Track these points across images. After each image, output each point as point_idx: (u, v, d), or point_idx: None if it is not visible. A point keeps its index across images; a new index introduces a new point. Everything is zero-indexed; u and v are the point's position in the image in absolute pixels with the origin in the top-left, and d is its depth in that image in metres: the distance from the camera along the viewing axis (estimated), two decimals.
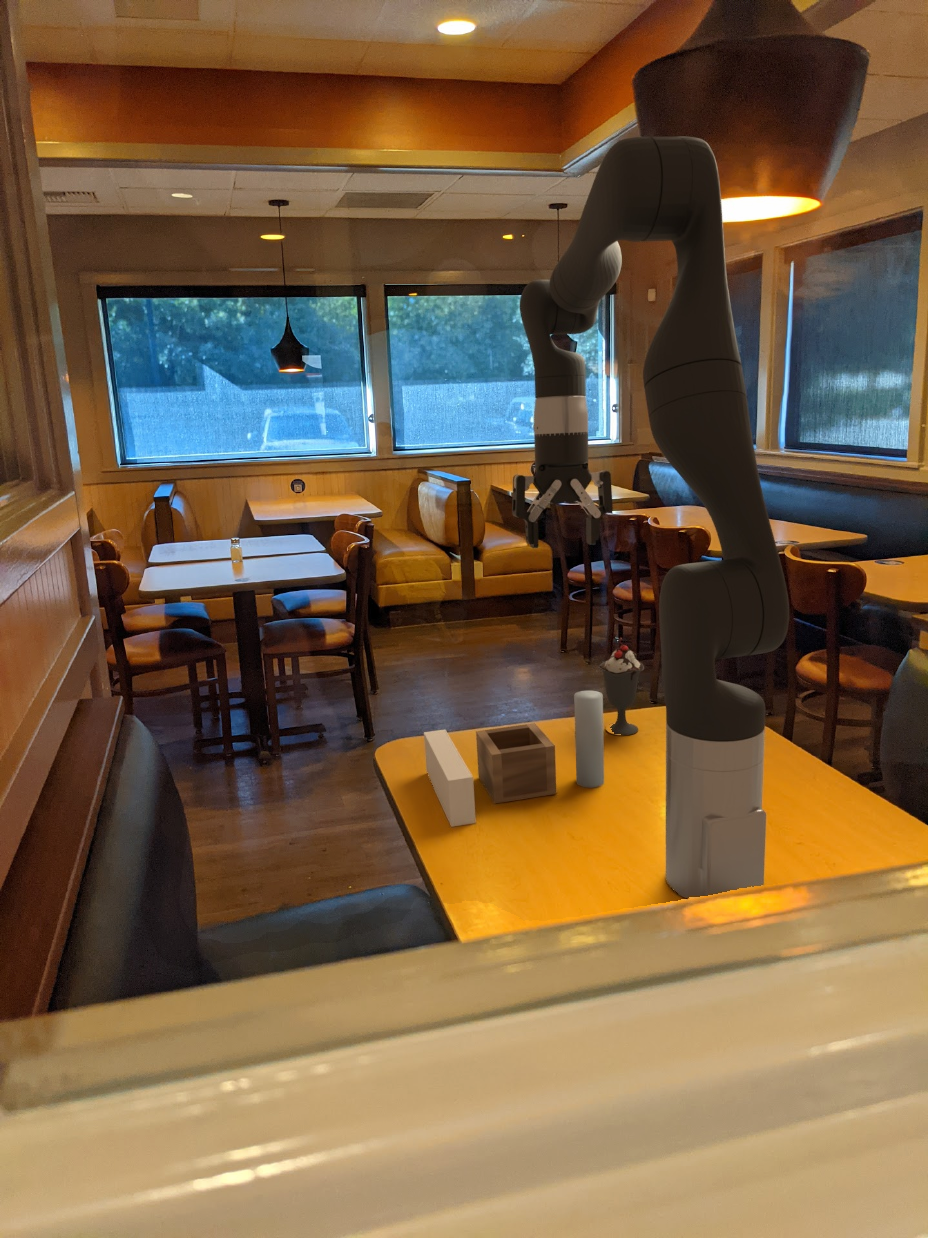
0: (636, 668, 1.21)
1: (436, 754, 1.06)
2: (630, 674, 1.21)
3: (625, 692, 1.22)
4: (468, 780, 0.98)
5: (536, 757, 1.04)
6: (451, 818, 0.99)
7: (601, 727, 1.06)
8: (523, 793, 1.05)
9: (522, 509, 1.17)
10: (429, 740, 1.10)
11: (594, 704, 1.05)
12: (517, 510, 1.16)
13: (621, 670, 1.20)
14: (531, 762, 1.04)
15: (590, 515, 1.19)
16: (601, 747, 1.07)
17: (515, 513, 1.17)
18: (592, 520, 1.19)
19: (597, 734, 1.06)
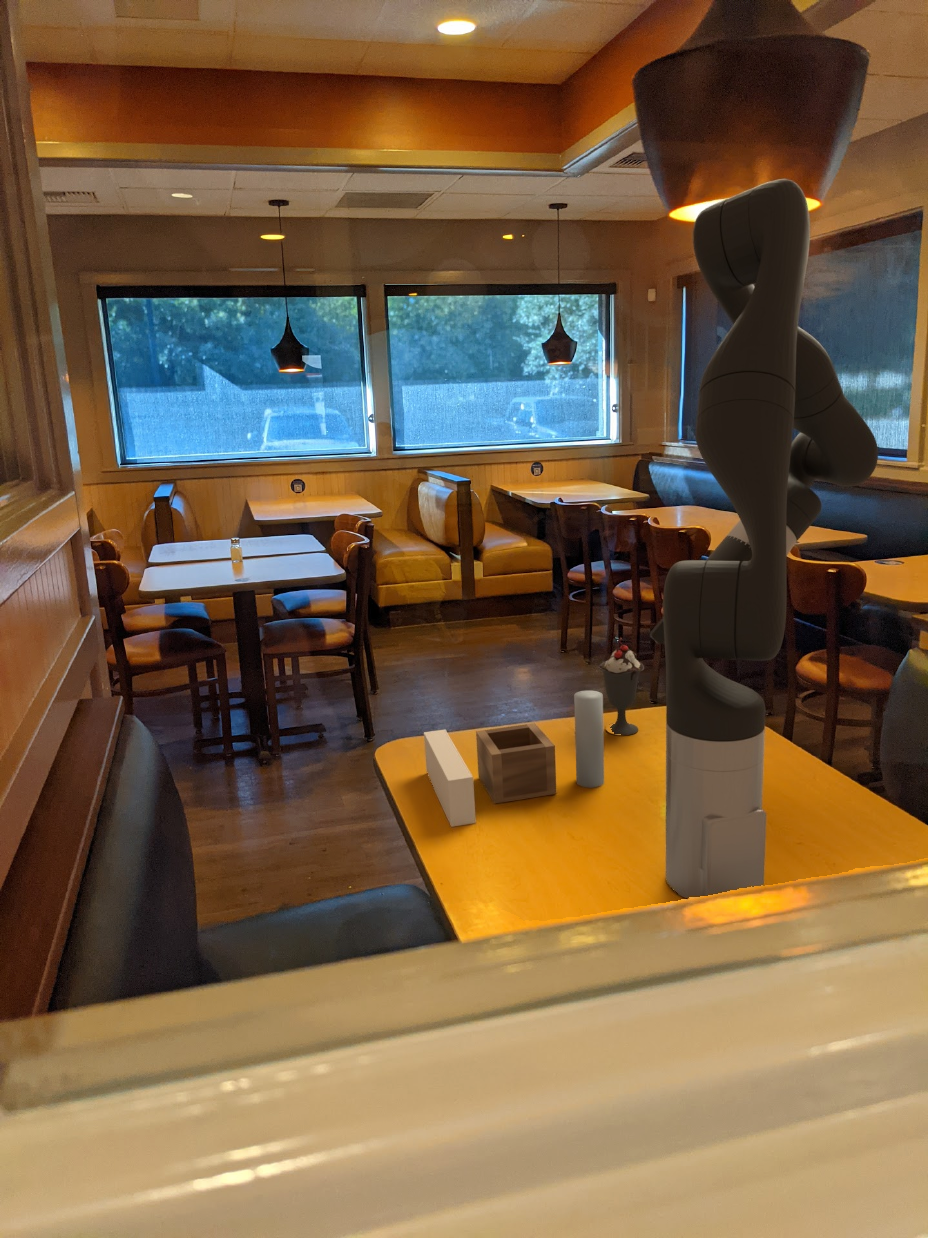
0: (636, 668, 1.21)
1: (436, 754, 1.06)
2: (630, 674, 1.21)
3: (625, 692, 1.22)
4: (468, 780, 0.98)
5: (536, 757, 1.04)
6: (451, 818, 0.99)
7: (601, 727, 1.06)
8: (523, 793, 1.05)
9: None
10: (429, 740, 1.10)
11: (594, 704, 1.05)
12: None
13: (621, 670, 1.20)
14: (531, 762, 1.04)
15: None
16: (601, 747, 1.07)
17: None
18: None
19: (597, 734, 1.06)
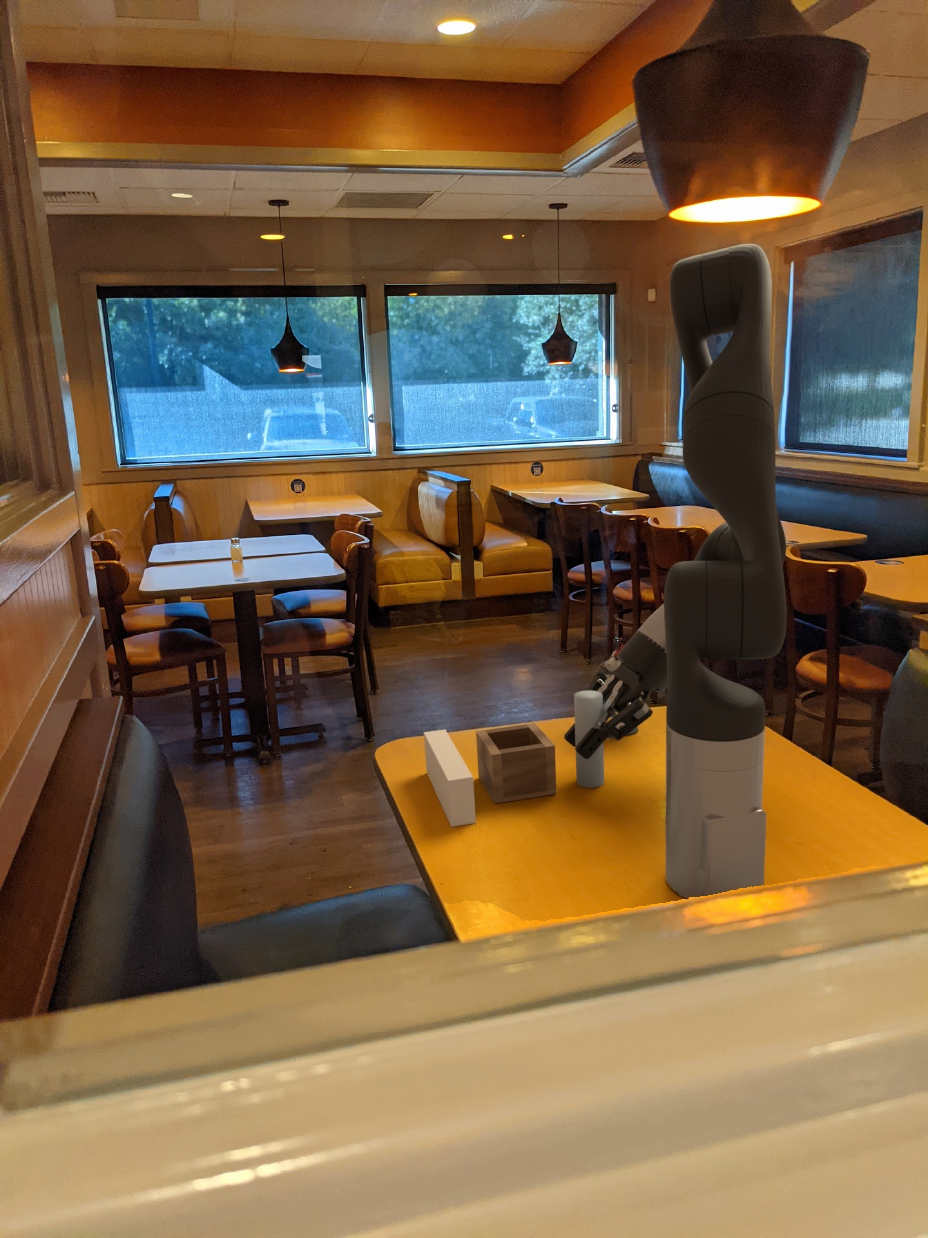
0: None
1: (436, 754, 1.06)
2: None
3: None
4: (468, 780, 0.98)
5: (536, 757, 1.04)
6: (451, 818, 0.99)
7: None
8: (523, 793, 1.05)
9: None
10: (429, 740, 1.10)
11: (594, 704, 1.05)
12: None
13: None
14: (531, 762, 1.04)
15: None
16: (601, 747, 1.07)
17: None
18: (592, 728, 1.05)
19: None
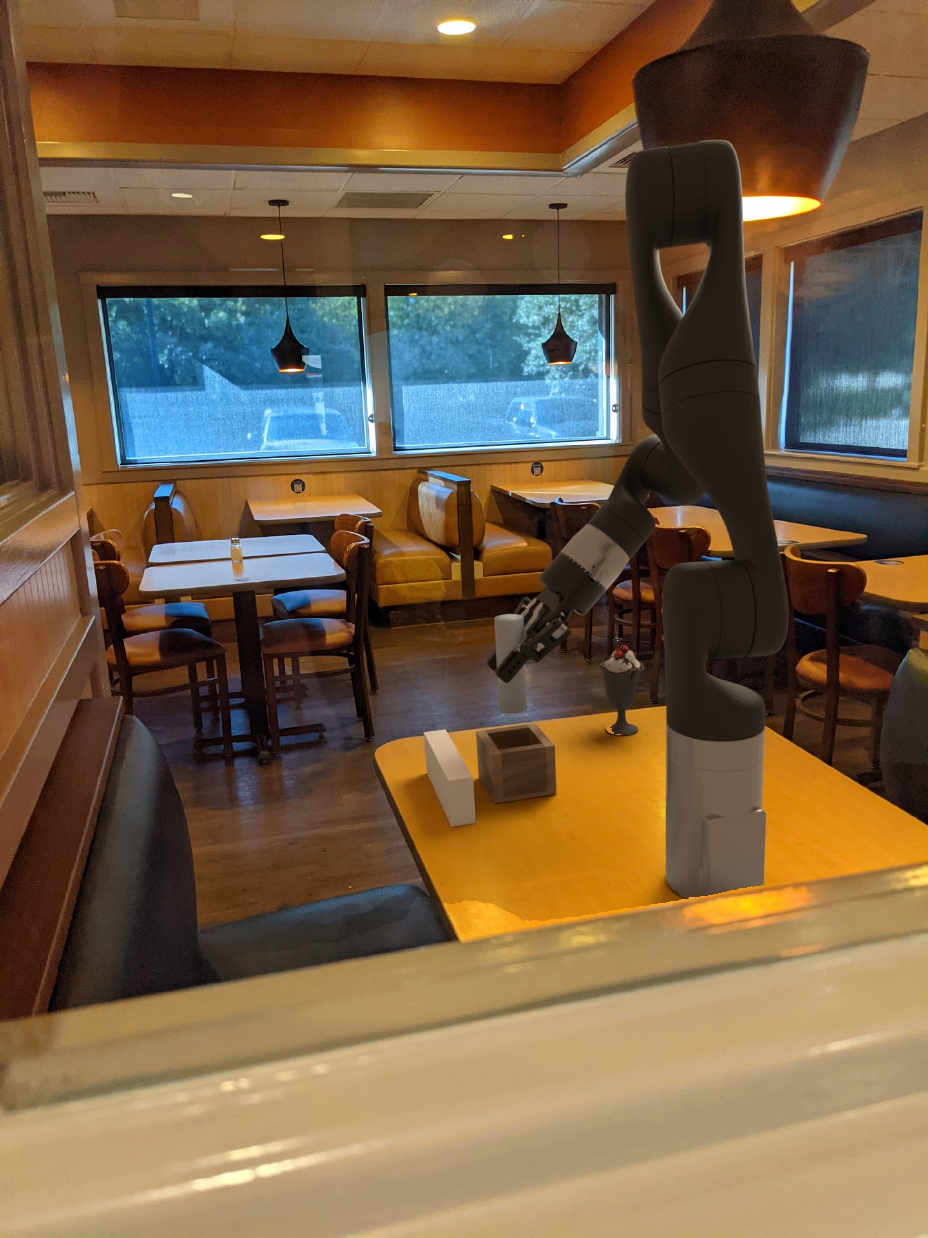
0: (636, 668, 1.21)
1: (436, 754, 1.06)
2: (630, 674, 1.21)
3: (625, 692, 1.22)
4: (468, 780, 0.98)
5: (536, 757, 1.04)
6: (451, 818, 0.99)
7: None
8: (523, 793, 1.05)
9: None
10: (429, 740, 1.10)
11: (513, 626, 1.02)
12: None
13: (621, 670, 1.20)
14: (531, 762, 1.04)
15: None
16: (522, 671, 1.04)
17: None
18: (511, 651, 1.02)
19: None
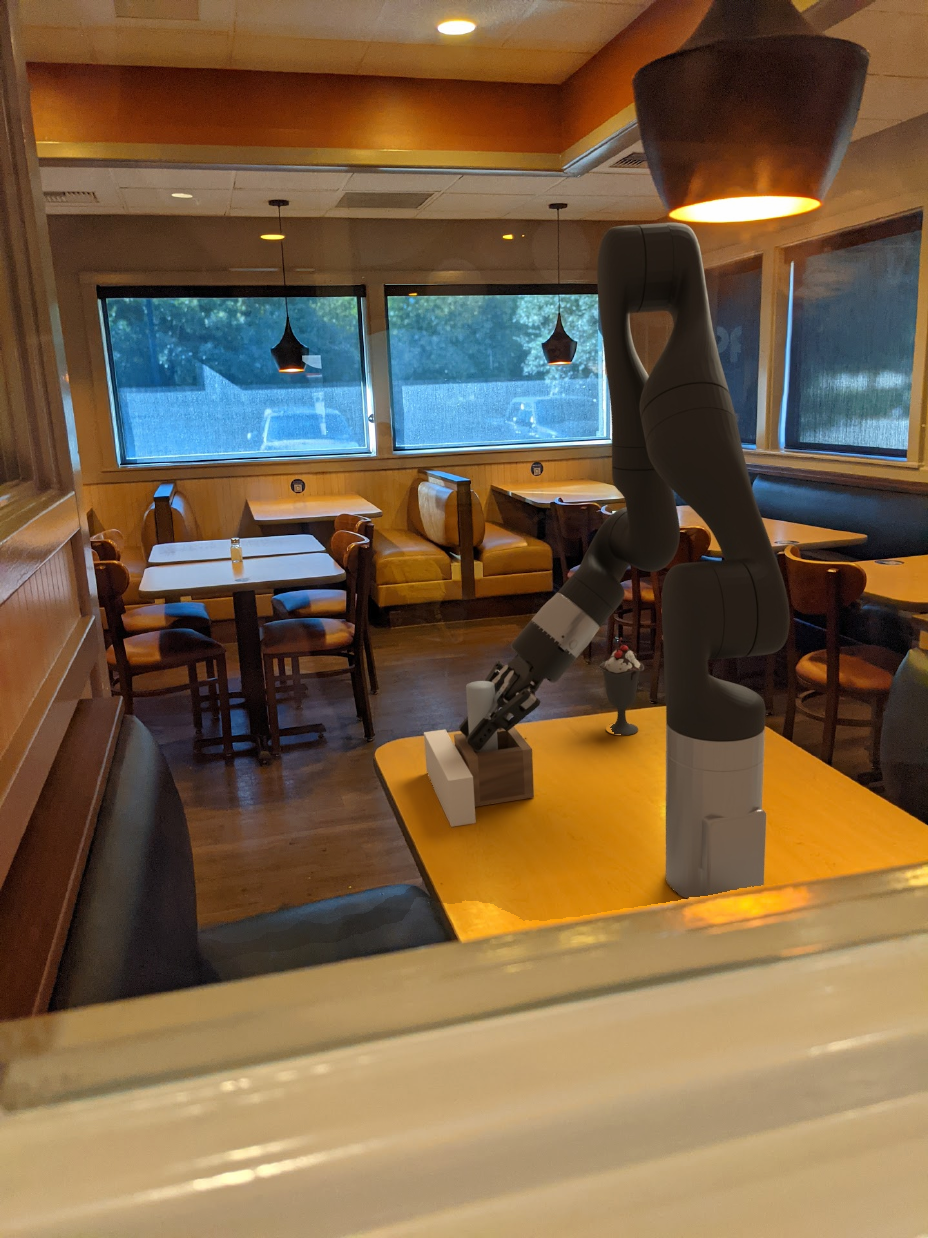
0: (636, 668, 1.21)
1: (436, 754, 1.06)
2: (630, 674, 1.21)
3: (625, 692, 1.22)
4: (468, 780, 0.98)
5: (513, 760, 1.03)
6: (451, 818, 0.99)
7: None
8: (500, 797, 1.04)
9: None
10: (429, 740, 1.10)
11: (484, 694, 1.03)
12: None
13: (621, 670, 1.20)
14: (508, 765, 1.03)
15: None
16: (494, 738, 1.05)
17: None
18: (482, 719, 1.04)
19: None
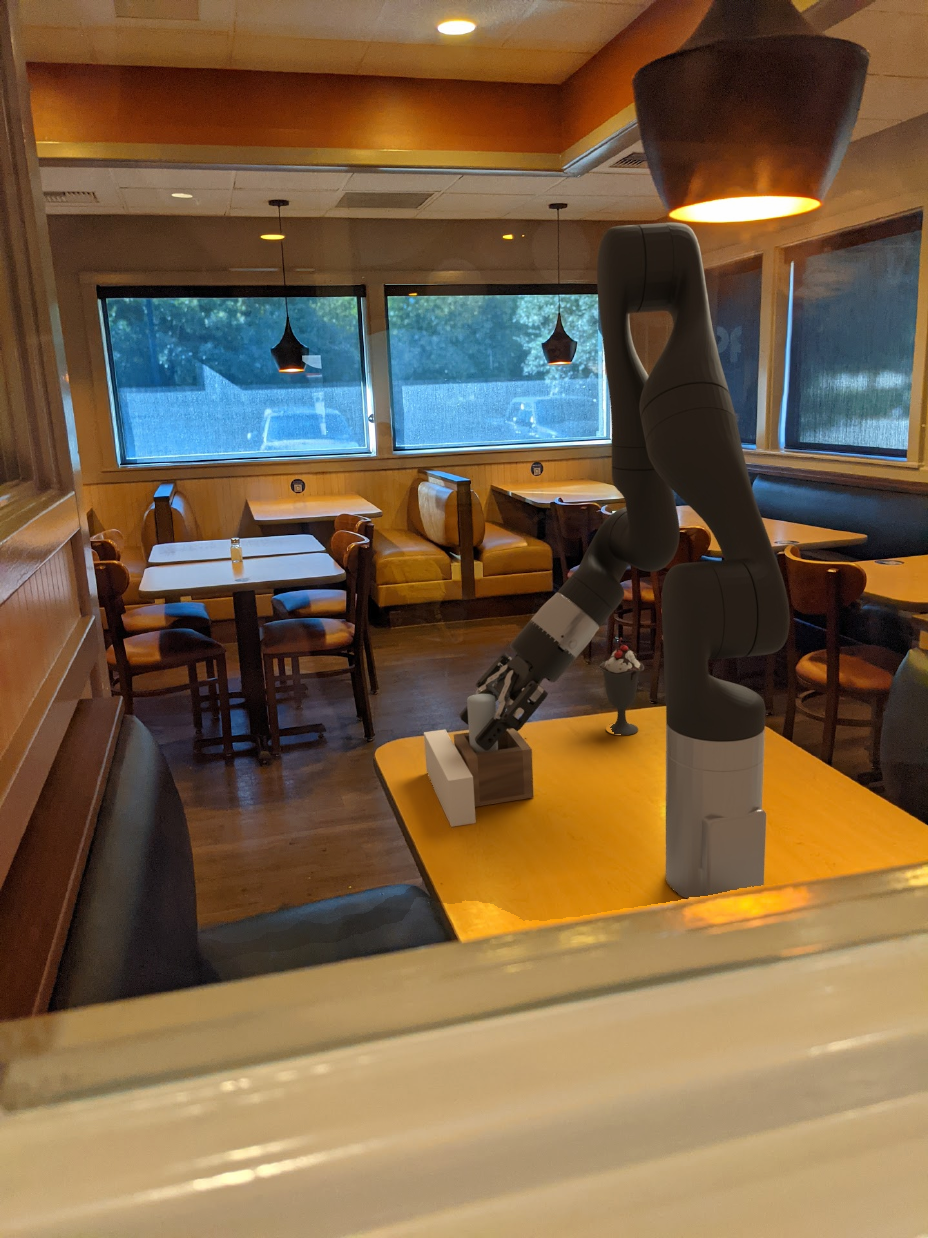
0: (636, 668, 1.21)
1: (436, 754, 1.06)
2: (630, 674, 1.21)
3: (625, 692, 1.22)
4: (468, 780, 0.98)
5: (513, 760, 1.03)
6: (451, 818, 0.99)
7: None
8: (500, 797, 1.04)
9: (482, 680, 1.11)
10: (429, 740, 1.10)
11: (485, 707, 1.03)
12: (480, 679, 1.12)
13: (621, 670, 1.20)
14: (508, 766, 1.03)
15: None
16: None
17: None
18: (492, 718, 1.01)
19: None
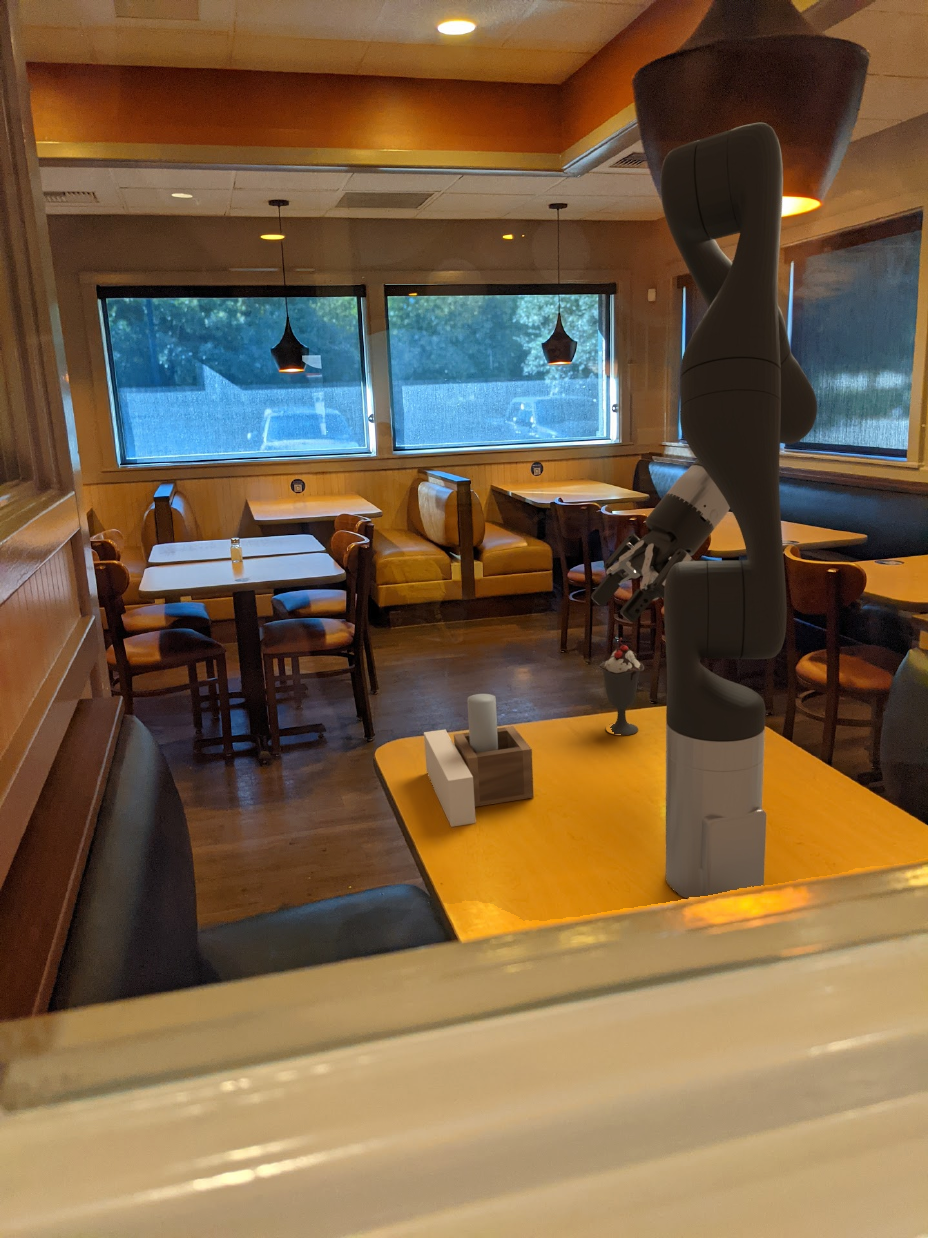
0: (636, 668, 1.21)
1: (436, 754, 1.06)
2: (630, 674, 1.21)
3: (625, 692, 1.22)
4: (468, 780, 0.98)
5: (513, 760, 1.03)
6: (451, 818, 0.99)
7: (494, 731, 1.05)
8: (500, 797, 1.04)
9: (610, 560, 1.11)
10: (429, 740, 1.10)
11: (485, 707, 1.03)
12: (607, 560, 1.12)
13: (621, 670, 1.20)
14: (508, 766, 1.03)
15: None
16: None
17: None
18: (637, 590, 1.01)
19: (490, 738, 1.05)
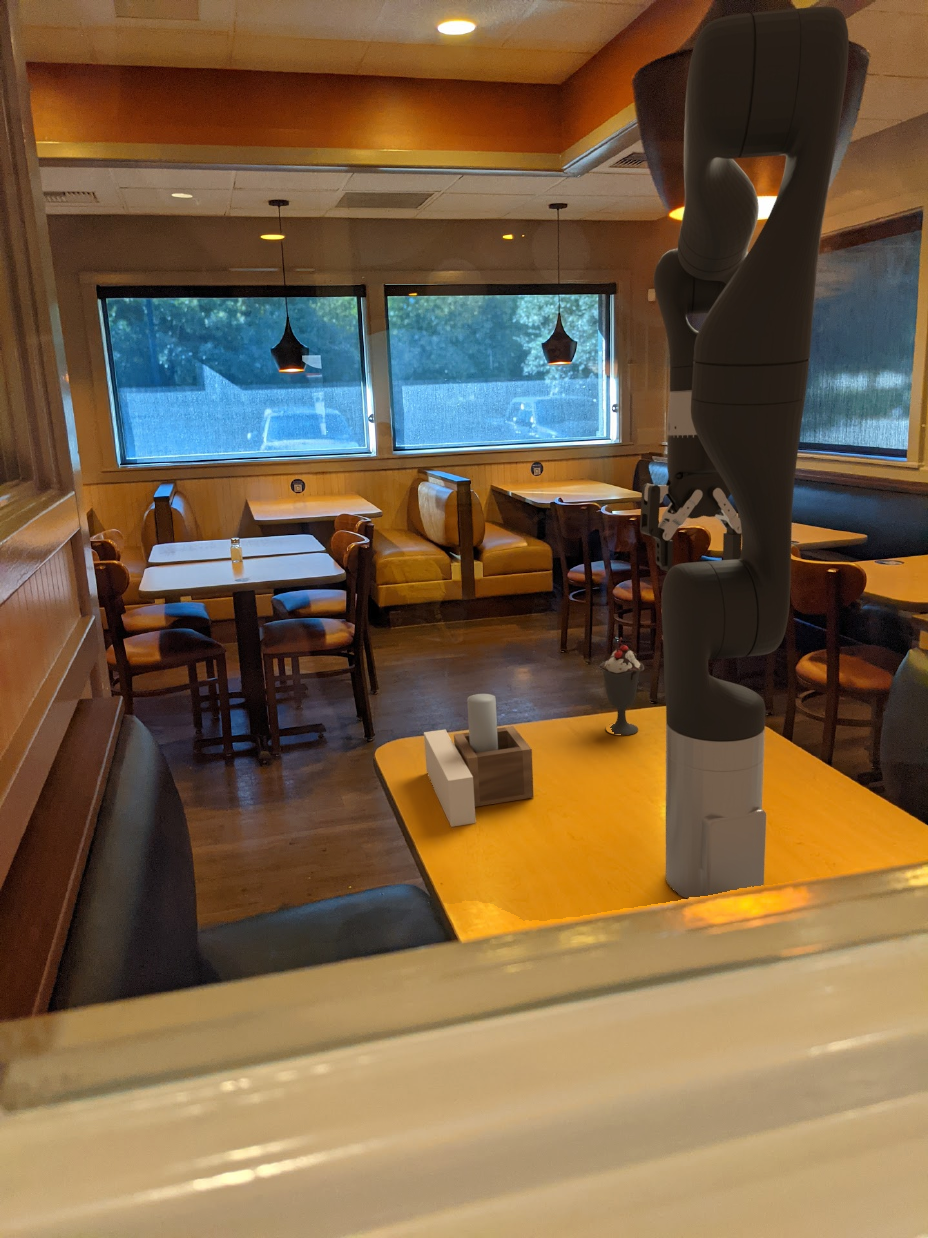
0: (636, 668, 1.21)
1: (436, 754, 1.06)
2: (630, 674, 1.21)
3: (625, 692, 1.22)
4: (468, 780, 0.98)
5: (513, 760, 1.03)
6: (451, 818, 0.99)
7: (494, 731, 1.05)
8: (500, 797, 1.04)
9: (656, 525, 0.97)
10: (429, 740, 1.10)
11: (485, 707, 1.03)
12: (650, 527, 0.97)
13: (621, 670, 1.20)
14: (508, 766, 1.03)
15: (731, 530, 1.01)
16: None
17: (647, 530, 0.98)
18: (734, 536, 1.00)
19: (490, 738, 1.05)
